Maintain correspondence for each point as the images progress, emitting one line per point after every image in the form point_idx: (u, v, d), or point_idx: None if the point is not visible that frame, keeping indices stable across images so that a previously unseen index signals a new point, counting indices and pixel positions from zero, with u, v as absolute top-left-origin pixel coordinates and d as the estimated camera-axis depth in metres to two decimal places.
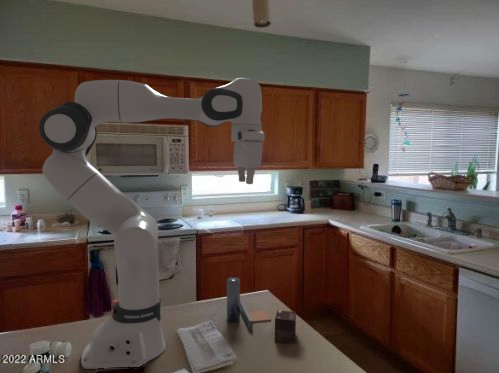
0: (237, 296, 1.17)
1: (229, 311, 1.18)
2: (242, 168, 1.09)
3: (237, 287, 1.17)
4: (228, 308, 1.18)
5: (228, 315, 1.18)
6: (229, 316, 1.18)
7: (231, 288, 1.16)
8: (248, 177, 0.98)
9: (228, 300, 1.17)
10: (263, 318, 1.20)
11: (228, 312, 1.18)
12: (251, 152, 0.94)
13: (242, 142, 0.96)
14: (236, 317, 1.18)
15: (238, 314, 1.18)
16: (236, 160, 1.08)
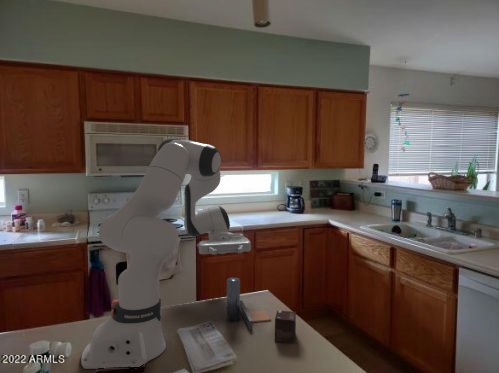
0: (237, 296, 1.17)
1: (229, 311, 1.18)
2: None
3: (237, 287, 1.17)
4: (228, 308, 1.18)
5: (228, 315, 1.18)
6: (229, 316, 1.18)
7: (231, 288, 1.16)
8: (241, 248, 1.32)
9: (228, 300, 1.17)
10: (263, 318, 1.20)
11: (228, 312, 1.18)
12: None
13: (239, 236, 1.42)
14: (236, 317, 1.18)
15: (238, 314, 1.18)
16: (212, 243, 1.34)
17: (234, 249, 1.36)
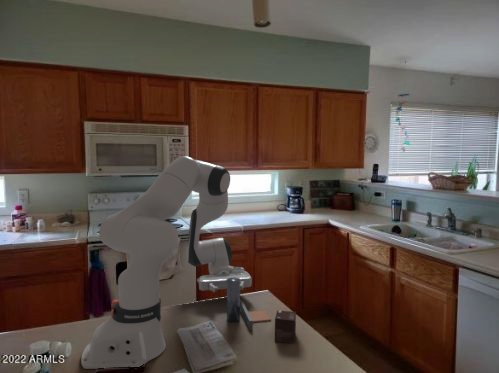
0: (237, 296, 1.17)
1: (229, 311, 1.18)
2: None
3: (237, 287, 1.17)
4: (228, 308, 1.18)
5: (228, 315, 1.18)
6: (229, 316, 1.18)
7: (231, 288, 1.16)
8: (242, 284, 1.30)
9: (228, 300, 1.17)
10: (263, 318, 1.20)
11: (228, 312, 1.18)
12: None
13: (239, 270, 1.40)
14: (236, 317, 1.18)
15: (238, 314, 1.18)
16: (212, 279, 1.32)
17: None
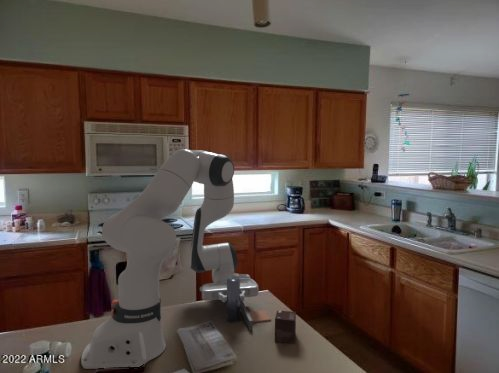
0: (237, 296, 1.17)
1: (229, 311, 1.18)
2: None
3: (237, 287, 1.17)
4: (228, 308, 1.18)
5: (228, 315, 1.18)
6: (229, 316, 1.18)
7: (231, 288, 1.16)
8: (243, 294, 1.21)
9: (228, 300, 1.17)
10: (263, 318, 1.20)
11: (228, 312, 1.18)
12: None
13: (245, 278, 1.31)
14: (236, 317, 1.18)
15: (238, 314, 1.18)
16: (216, 288, 1.23)
17: (240, 294, 1.24)
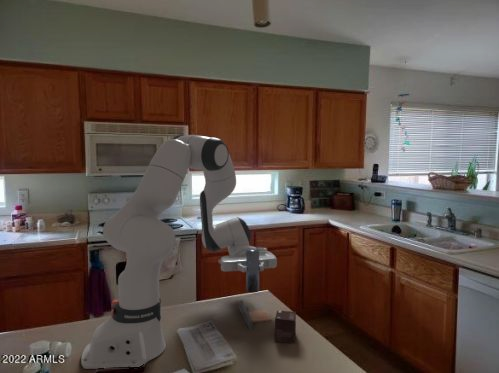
0: (257, 266, 1.18)
1: (249, 281, 1.19)
2: None
3: (257, 257, 1.18)
4: (248, 278, 1.19)
5: (248, 285, 1.19)
6: (248, 286, 1.19)
7: (250, 258, 1.17)
8: (262, 265, 1.22)
9: (248, 270, 1.18)
10: (263, 318, 1.20)
11: (248, 282, 1.19)
12: None
13: (263, 251, 1.31)
14: (256, 287, 1.19)
15: (258, 284, 1.19)
16: (235, 259, 1.24)
17: (259, 265, 1.25)
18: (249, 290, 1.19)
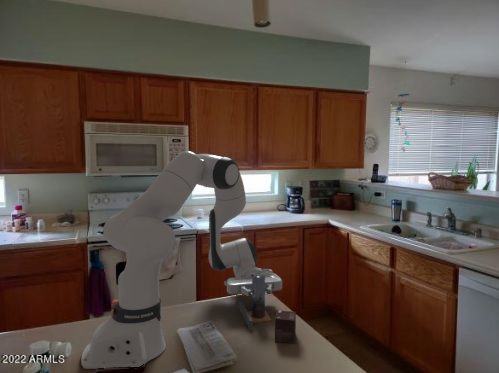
0: (262, 292, 1.19)
1: (254, 307, 1.20)
2: None
3: (262, 283, 1.19)
4: (254, 304, 1.20)
5: (254, 311, 1.20)
6: (254, 312, 1.20)
7: (256, 284, 1.18)
8: (270, 288, 1.23)
9: (254, 296, 1.19)
10: (263, 318, 1.20)
11: (254, 308, 1.20)
12: None
13: (268, 272, 1.32)
14: (262, 313, 1.20)
15: (263, 310, 1.20)
16: (241, 282, 1.25)
17: (265, 288, 1.26)
18: (255, 316, 1.20)
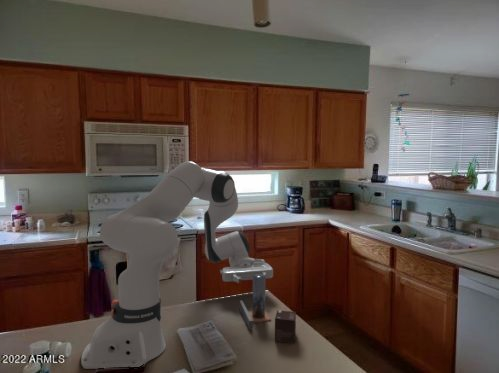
0: (263, 292, 1.19)
1: (255, 307, 1.20)
2: None
3: (263, 283, 1.19)
4: (254, 304, 1.20)
5: (254, 311, 1.20)
6: (254, 312, 1.20)
7: (257, 284, 1.18)
8: None
9: (254, 296, 1.19)
10: (263, 318, 1.20)
11: (254, 308, 1.20)
12: None
13: (260, 262, 1.44)
14: (262, 313, 1.20)
15: (264, 310, 1.20)
16: (235, 270, 1.37)
17: None
18: (255, 316, 1.20)
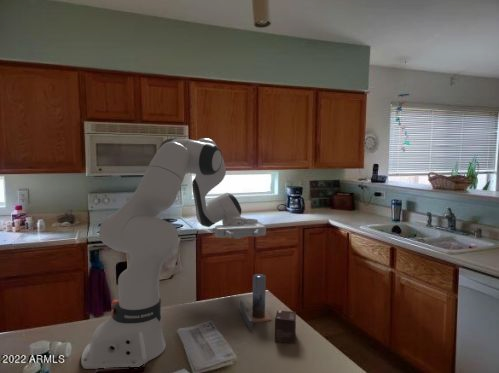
0: (263, 292, 1.19)
1: (255, 307, 1.20)
2: None
3: (263, 283, 1.19)
4: (254, 304, 1.20)
5: (254, 311, 1.20)
6: (254, 312, 1.20)
7: (257, 284, 1.19)
8: None
9: (254, 296, 1.20)
10: (263, 318, 1.20)
11: (254, 308, 1.20)
12: None
13: (253, 221, 1.44)
14: (262, 313, 1.20)
15: (264, 310, 1.20)
16: (228, 227, 1.36)
17: (249, 233, 1.37)
18: (255, 316, 1.20)
